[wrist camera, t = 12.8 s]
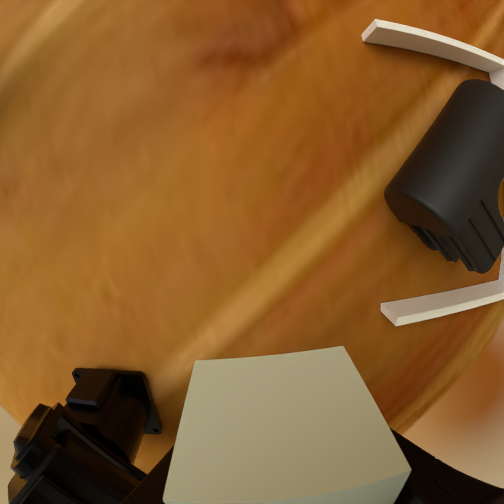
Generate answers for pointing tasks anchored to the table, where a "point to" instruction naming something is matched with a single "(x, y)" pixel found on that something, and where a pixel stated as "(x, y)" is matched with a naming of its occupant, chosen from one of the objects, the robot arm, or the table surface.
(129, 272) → the table surface
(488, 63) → the white u-shaped frame
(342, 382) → the block
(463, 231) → the end cap
